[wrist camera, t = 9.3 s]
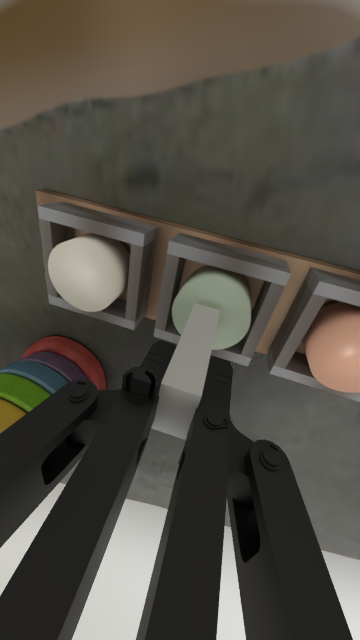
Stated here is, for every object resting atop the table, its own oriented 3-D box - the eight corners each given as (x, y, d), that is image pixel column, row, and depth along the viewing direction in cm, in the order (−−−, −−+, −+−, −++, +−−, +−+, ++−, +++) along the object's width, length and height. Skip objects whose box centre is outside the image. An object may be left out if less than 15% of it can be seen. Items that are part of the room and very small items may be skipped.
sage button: (177, 316, 20) (166, 336, 17) (190, 256, 17) (179, 270, 14) (238, 334, 19) (235, 358, 17) (261, 275, 16) (263, 294, 14)
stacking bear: (23, 367, 31) (-183, 539, 17) (38, 313, 26) (-249, 499, 11) (95, 412, 32) (-39, 612, 18) (125, 369, 27) (-34, 609, 12)
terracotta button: (289, 350, 19) (295, 377, 16) (322, 292, 16) (335, 314, 13) (357, 371, 18) (374, 402, 16) (403, 314, 15) (432, 341, 13)
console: (54, 282, 23) (24, 298, 20) (44, 189, 19) (5, 192, 16) (383, 383, 20) (406, 420, 17) (463, 298, 16) (513, 327, 13)
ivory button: (76, 285, 21) (51, 300, 18) (73, 224, 18) (44, 232, 15) (131, 302, 20) (113, 320, 18) (136, 241, 17) (117, 252, 15)
